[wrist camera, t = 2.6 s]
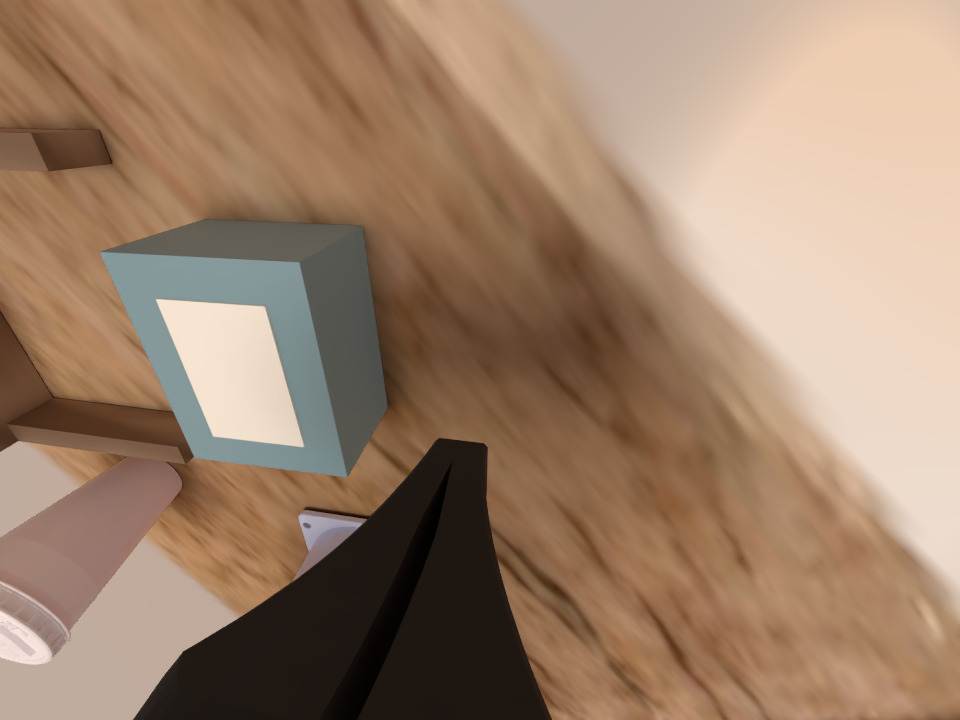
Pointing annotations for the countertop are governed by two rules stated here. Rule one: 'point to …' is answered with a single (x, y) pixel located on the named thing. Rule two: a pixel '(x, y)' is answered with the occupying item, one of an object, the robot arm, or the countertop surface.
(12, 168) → the display stand
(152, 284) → the carton
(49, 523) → the smoothie
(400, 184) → the countertop surface
